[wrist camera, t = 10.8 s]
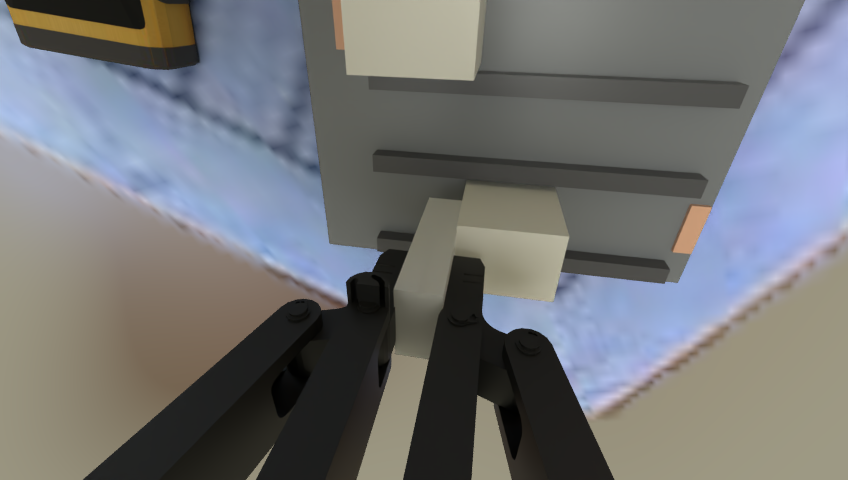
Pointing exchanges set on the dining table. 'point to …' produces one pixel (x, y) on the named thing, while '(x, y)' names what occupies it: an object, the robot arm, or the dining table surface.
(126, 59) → the electronic device
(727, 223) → the dining table surface
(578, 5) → the switch bank
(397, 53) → the tab
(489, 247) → the tab
